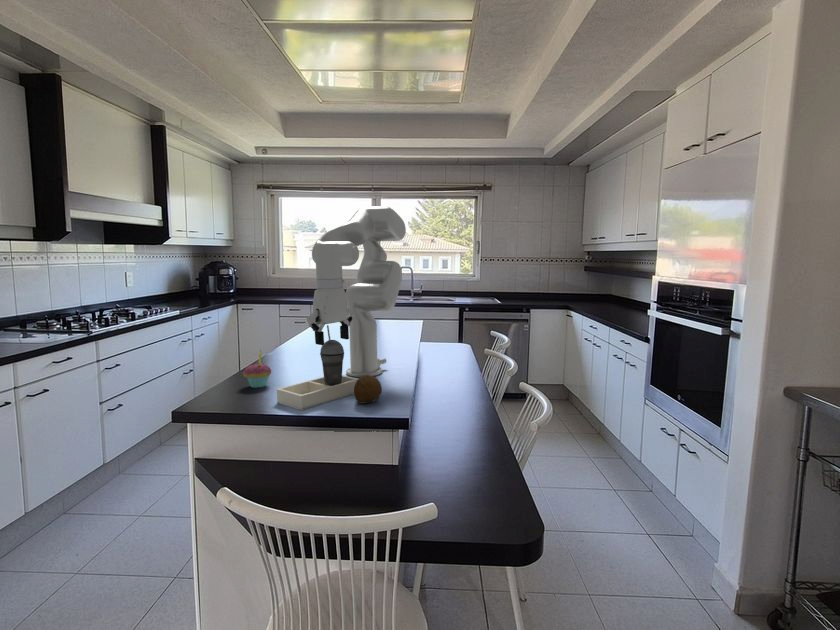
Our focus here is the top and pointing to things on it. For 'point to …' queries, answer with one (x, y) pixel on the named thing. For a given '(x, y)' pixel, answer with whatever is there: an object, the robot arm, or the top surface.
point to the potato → (367, 389)
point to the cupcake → (257, 374)
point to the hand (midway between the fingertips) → (332, 341)
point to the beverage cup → (332, 361)
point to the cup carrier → (314, 392)
